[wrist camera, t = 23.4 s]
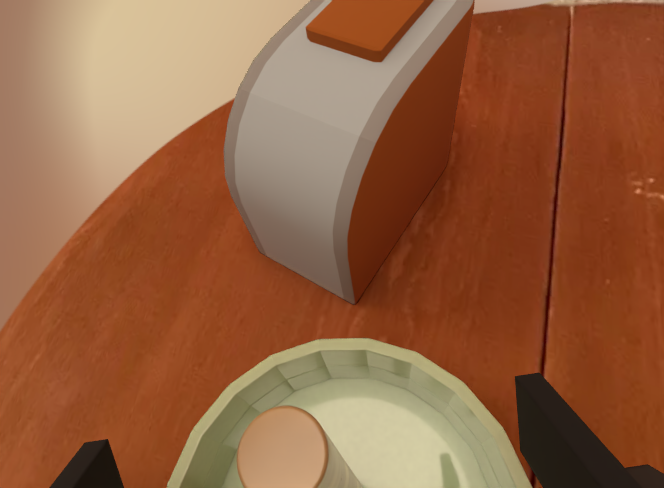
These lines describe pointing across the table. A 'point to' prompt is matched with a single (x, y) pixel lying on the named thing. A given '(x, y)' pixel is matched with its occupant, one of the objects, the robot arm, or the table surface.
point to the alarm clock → (345, 132)
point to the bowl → (361, 419)
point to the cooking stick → (290, 453)
